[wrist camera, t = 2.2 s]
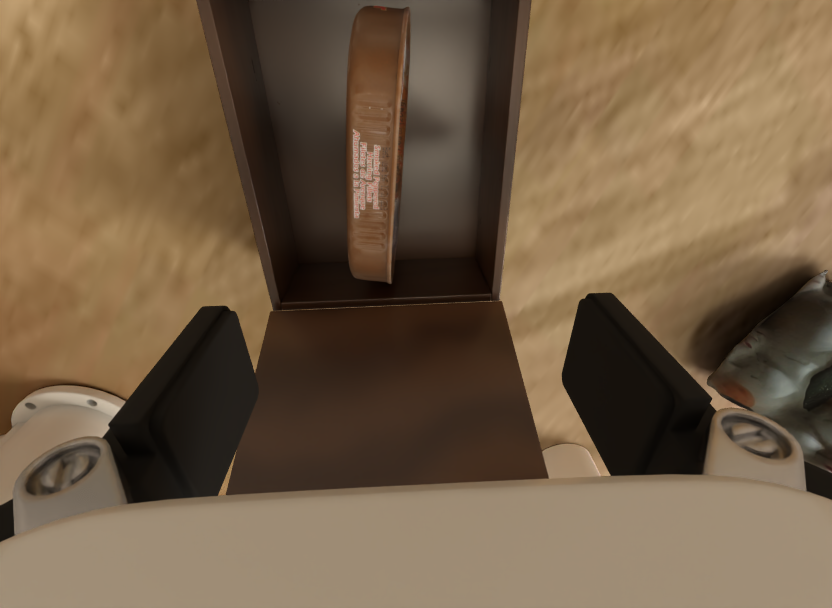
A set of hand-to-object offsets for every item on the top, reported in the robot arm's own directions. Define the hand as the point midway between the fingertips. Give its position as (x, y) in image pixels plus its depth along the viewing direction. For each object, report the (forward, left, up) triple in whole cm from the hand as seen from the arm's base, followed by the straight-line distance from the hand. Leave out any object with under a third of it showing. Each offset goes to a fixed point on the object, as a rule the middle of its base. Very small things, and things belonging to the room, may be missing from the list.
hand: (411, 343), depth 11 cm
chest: (-1, +2, -20) cm, 20 cm away
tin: (-1, +2, -20) cm, 20 cm away
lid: (-1, -10, -4) cm, 11 cm away
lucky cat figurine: (+36, -16, -21) cm, 44 cm away
